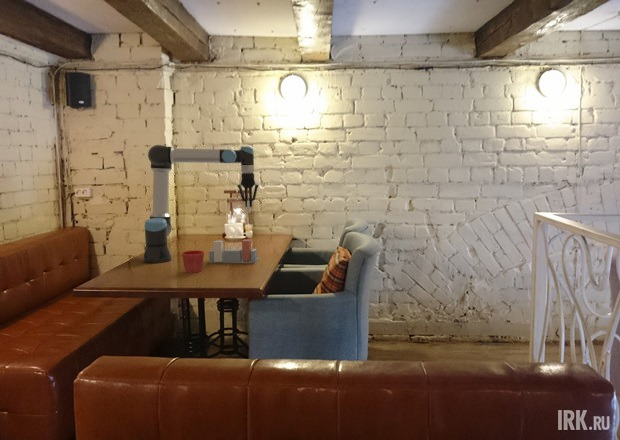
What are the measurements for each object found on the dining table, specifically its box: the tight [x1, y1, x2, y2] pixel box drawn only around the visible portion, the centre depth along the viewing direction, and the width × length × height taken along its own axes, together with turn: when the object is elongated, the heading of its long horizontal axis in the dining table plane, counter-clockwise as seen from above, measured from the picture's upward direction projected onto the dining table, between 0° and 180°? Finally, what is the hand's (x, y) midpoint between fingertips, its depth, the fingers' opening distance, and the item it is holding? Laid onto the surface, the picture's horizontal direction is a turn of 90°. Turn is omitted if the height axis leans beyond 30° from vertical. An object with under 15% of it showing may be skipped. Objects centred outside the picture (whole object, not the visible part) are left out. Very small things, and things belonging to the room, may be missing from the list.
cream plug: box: [212, 240, 224, 262], centre depth 274 cm, size 4×4×11 cm
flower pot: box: [181, 250, 205, 274], centre depth 253 cm, size 11×11×10 cm
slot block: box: [208, 248, 260, 264], centre depth 279 cm, size 25×12×7 cm, turn 85°
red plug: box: [241, 239, 252, 261], centre depth 275 cm, size 4×4×11 cm
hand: (248, 212), depth 301 cm, fingers closed
